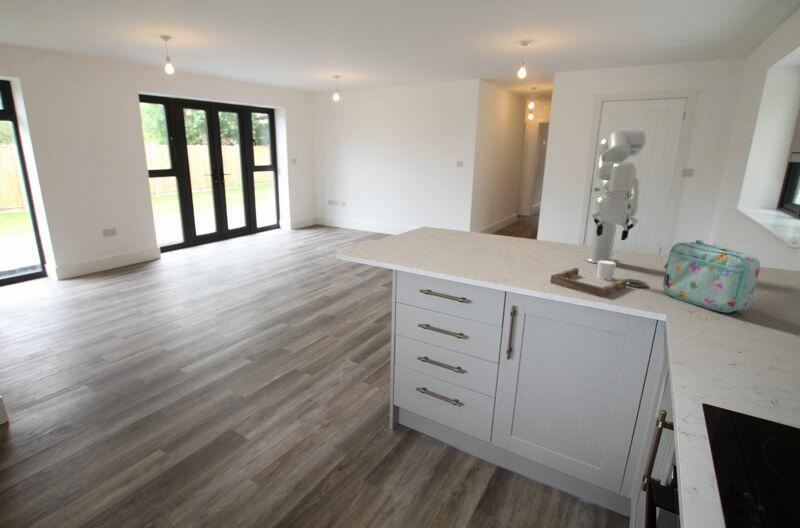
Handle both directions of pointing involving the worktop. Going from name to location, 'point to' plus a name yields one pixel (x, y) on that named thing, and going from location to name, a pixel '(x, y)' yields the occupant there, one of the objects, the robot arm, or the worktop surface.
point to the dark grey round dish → (636, 283)
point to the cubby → (599, 291)
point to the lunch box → (711, 276)
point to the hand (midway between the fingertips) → (611, 237)
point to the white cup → (606, 269)
